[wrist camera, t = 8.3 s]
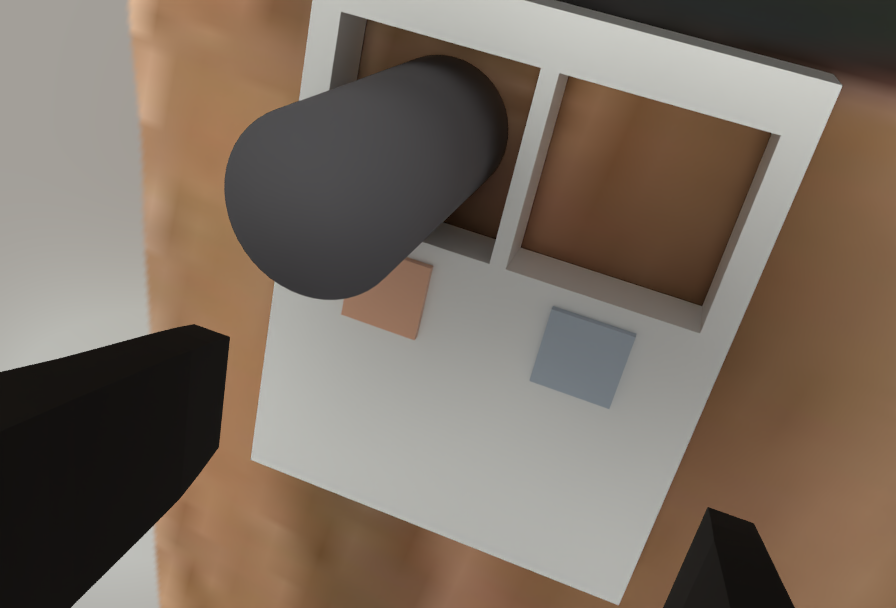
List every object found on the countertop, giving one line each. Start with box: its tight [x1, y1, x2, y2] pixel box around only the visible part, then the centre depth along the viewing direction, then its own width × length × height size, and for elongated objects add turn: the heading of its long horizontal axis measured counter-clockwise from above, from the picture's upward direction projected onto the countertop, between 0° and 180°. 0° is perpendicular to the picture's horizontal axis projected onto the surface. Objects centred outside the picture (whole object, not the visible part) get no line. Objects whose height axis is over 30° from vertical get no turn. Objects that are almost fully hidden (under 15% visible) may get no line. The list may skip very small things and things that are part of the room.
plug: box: [225, 55, 508, 300], centre depth 17 cm, size 3×3×7 cm
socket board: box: [251, 0, 843, 605], centre depth 20 cm, size 14×11×2 cm
